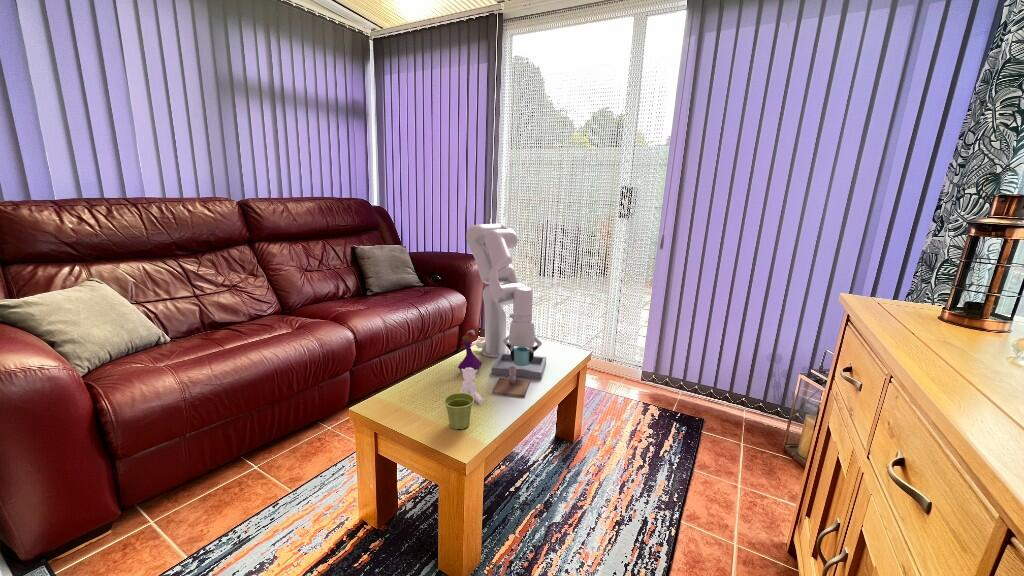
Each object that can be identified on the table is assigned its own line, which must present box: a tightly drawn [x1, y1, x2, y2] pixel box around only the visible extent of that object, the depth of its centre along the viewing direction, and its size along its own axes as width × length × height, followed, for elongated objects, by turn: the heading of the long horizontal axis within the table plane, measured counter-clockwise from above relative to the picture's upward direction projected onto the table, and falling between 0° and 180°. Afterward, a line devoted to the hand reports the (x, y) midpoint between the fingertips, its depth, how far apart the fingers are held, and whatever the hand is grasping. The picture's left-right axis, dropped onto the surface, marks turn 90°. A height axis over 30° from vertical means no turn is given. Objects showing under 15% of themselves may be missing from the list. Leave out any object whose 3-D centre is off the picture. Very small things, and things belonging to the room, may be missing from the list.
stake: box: [491, 366, 531, 398], centre depth 154 cm, size 12×12×8 cm
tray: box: [491, 353, 547, 381], centre depth 172 cm, size 20×16×3 cm
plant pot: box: [443, 392, 475, 430], centre depth 129 cm, size 9×9×9 cm
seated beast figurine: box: [459, 367, 484, 406], centre depth 145 cm, size 10×9×12 cm
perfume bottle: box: [457, 329, 483, 374], centre depth 166 cm, size 8×8×18 cm
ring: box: [514, 346, 530, 366], centre depth 169 cm, size 7×8×6 cm
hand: (521, 359), depth 169 cm, fingers closed on ring, 6 cm apart
